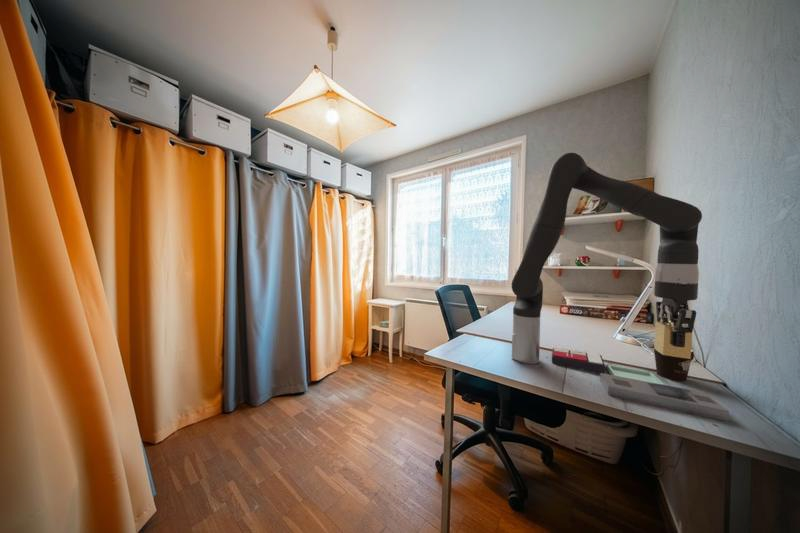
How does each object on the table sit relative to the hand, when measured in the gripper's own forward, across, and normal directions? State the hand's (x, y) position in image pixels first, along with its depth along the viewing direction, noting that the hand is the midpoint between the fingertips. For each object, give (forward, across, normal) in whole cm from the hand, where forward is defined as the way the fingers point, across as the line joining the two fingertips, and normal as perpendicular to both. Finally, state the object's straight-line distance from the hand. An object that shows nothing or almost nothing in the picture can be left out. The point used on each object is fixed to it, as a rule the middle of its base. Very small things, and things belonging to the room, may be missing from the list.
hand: (672, 342), depth 63 cm
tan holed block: (+3, 0, 0) cm, 3 cm away
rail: (+16, 0, -3) cm, 16 cm away
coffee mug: (+16, -20, +9) cm, 27 cm away
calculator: (+17, -16, -18) cm, 30 cm away
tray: (+16, -11, -4) cm, 20 cm away
